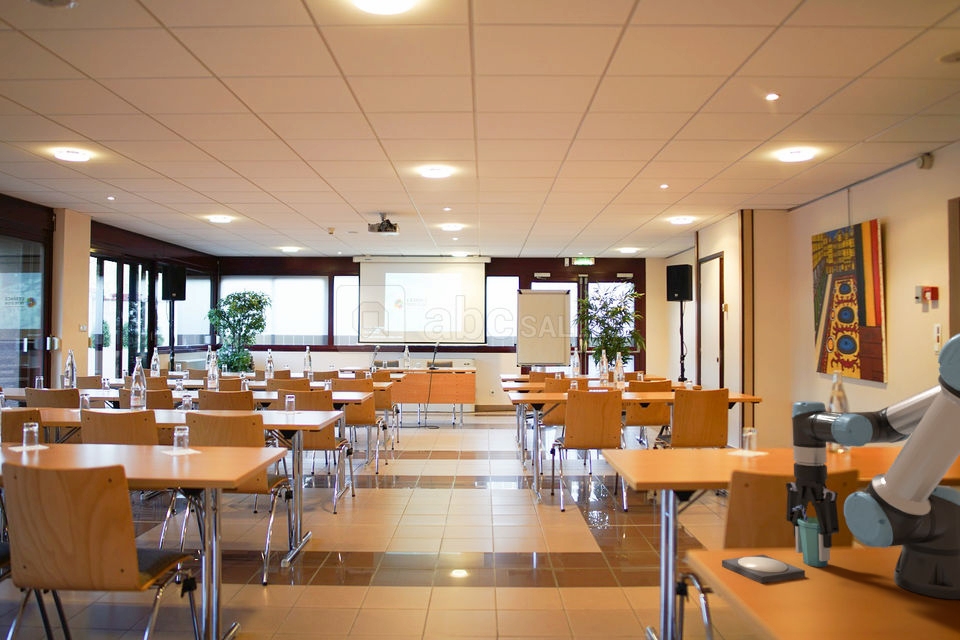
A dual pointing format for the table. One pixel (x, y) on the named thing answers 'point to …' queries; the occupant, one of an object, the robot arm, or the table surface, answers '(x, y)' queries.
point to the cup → (810, 539)
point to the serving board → (763, 568)
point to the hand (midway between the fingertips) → (812, 555)
